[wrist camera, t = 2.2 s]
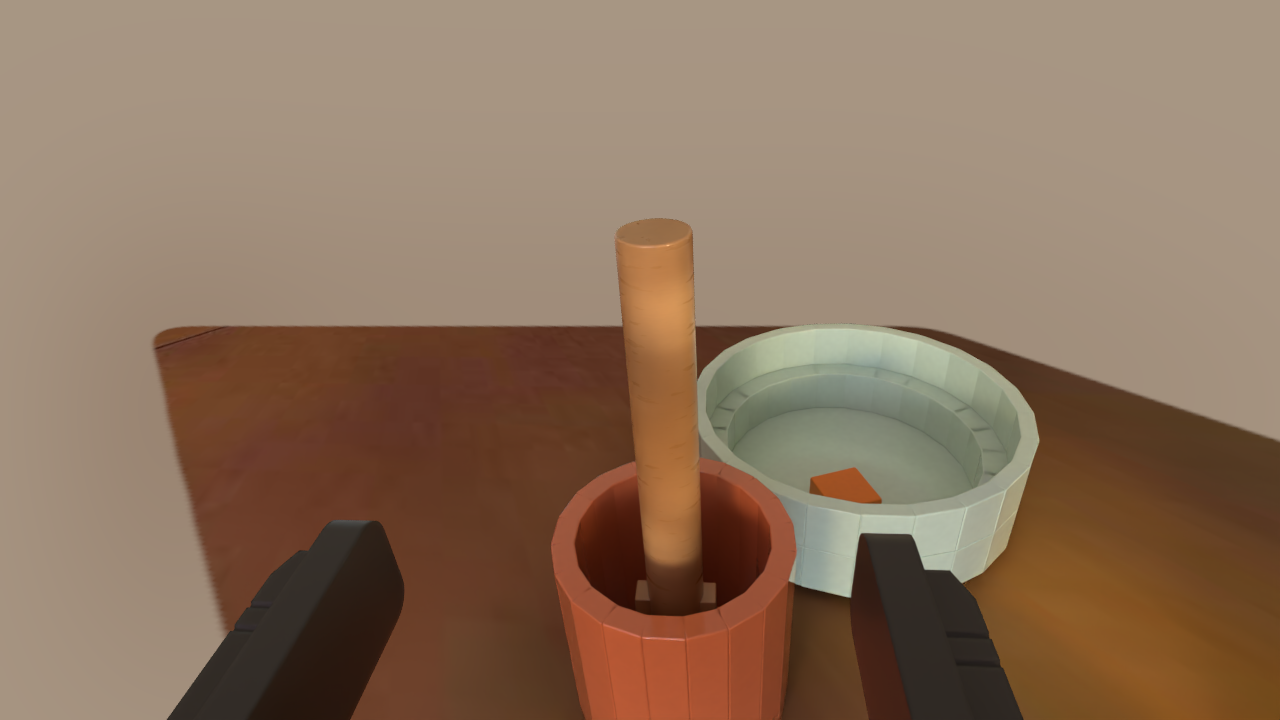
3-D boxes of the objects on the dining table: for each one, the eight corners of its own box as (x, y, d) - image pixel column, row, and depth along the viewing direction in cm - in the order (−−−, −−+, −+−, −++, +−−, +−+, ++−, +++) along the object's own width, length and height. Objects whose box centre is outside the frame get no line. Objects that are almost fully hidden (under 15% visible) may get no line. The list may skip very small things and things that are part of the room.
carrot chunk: (853, 484, 38) (855, 466, 38) (879, 518, 36) (882, 499, 35) (808, 495, 38) (809, 476, 37) (832, 530, 35) (834, 510, 35)
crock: (777, 599, 33) (784, 456, 28) (795, 796, 25) (809, 645, 20) (596, 592, 34) (575, 454, 29) (561, 779, 26) (524, 632, 22)
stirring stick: (717, 647, 30) (710, 215, 19) (717, 694, 28) (710, 243, 18) (646, 644, 30) (602, 219, 20) (641, 689, 28) (590, 247, 18)
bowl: (955, 398, 46) (971, 321, 43) (1069, 614, 31) (1108, 520, 28) (698, 398, 48) (696, 324, 45) (689, 600, 33) (684, 511, 30)
